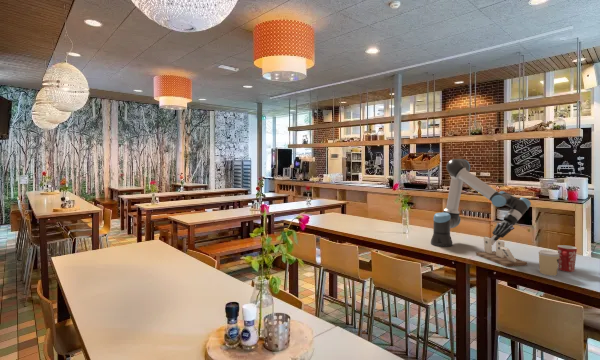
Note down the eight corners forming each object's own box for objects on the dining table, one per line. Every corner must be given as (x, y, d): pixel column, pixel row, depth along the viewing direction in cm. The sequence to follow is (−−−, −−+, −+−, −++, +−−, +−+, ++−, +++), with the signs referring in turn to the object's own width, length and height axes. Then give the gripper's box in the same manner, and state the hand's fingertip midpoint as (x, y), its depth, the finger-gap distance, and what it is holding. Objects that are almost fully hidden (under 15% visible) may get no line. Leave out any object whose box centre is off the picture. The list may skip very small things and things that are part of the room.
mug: (558, 266, 203) (559, 244, 203) (577, 270, 196) (578, 247, 196) (552, 271, 195) (553, 247, 194) (572, 275, 188) (573, 250, 187)
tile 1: (484, 251, 229) (483, 237, 228) (486, 251, 229) (485, 236, 229) (489, 253, 224) (488, 238, 223) (492, 253, 225) (491, 238, 224)
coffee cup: (562, 276, 186) (563, 255, 185) (542, 275, 187) (543, 254, 187) (553, 271, 195) (553, 250, 194) (534, 270, 197) (535, 249, 196)
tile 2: (495, 255, 219) (495, 240, 219) (497, 255, 220) (498, 240, 219) (501, 257, 214) (501, 242, 214) (504, 257, 215) (504, 241, 214)
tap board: (476, 255, 229) (476, 252, 229) (494, 253, 231) (494, 251, 231) (506, 266, 203) (506, 263, 203) (526, 265, 206) (526, 262, 206)
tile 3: (507, 260, 210) (499, 248, 208) (510, 258, 210) (501, 246, 208) (514, 262, 205) (506, 250, 203) (516, 260, 205) (508, 248, 203)
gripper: (523, 222, 223) (501, 249, 221) (507, 219, 236) (486, 244, 234) (517, 215, 222) (494, 242, 220) (501, 212, 235) (479, 237, 232)
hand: (490, 243), depth 227 cm, fingers closed
